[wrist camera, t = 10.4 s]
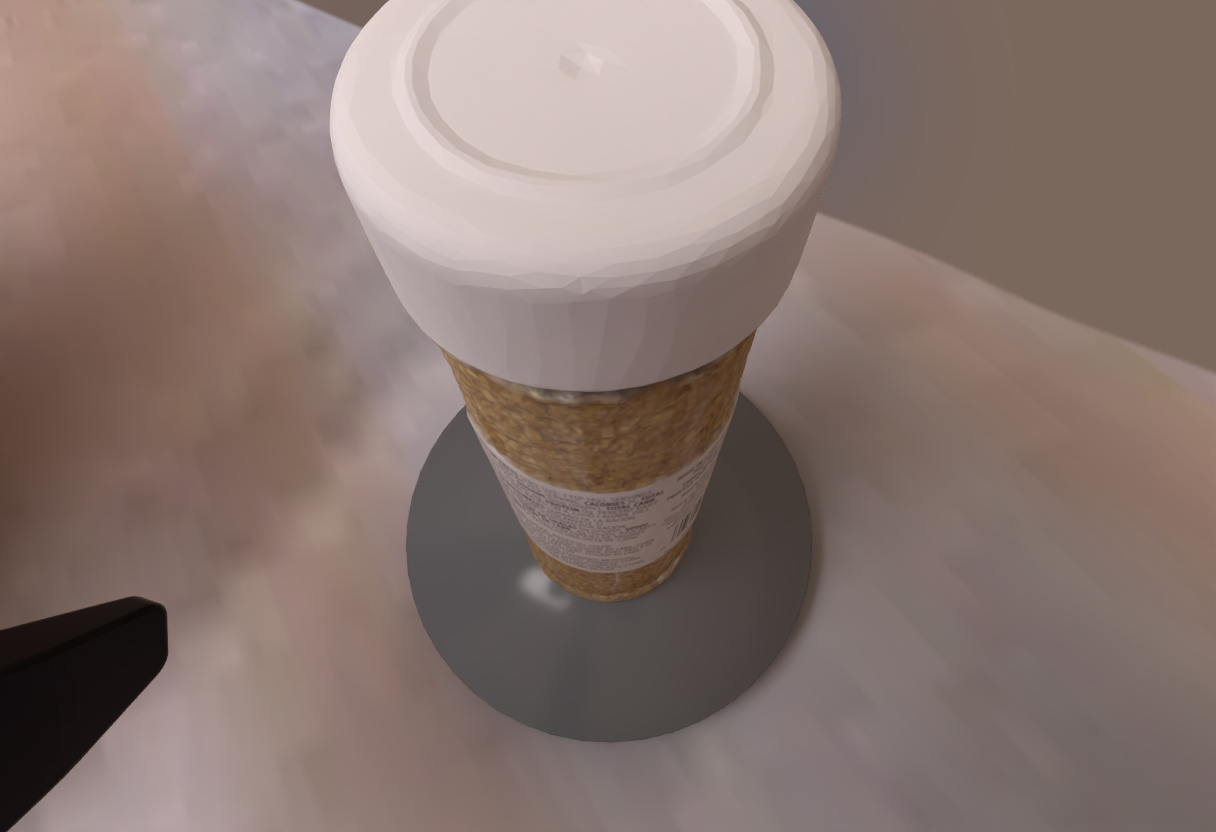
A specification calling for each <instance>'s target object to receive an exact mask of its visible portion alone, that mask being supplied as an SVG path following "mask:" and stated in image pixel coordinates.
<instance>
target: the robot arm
mask: <svg viewBox="0 0 1216 832" xmlns="http://www.w3.org/2000/svg"><path fill="white" fill-rule="evenodd" d="M167 657H168V625H167V611H166V609H165V607H164V606H163V605H162V604H160V603H157V602H154V601H151V600H148V599H145V598H142V597H137V596H131V597H127V598H123V599H119V600H115V601H111V602H107V603H103V604H100V605H96V606H92V607H88V608H84V609H80V610H76V611H72V612H69V613H65V614H61V615H57V616H53V617H49V618H45V619H42V620H38V621H34V622H30V623H26V624H22V625H18V626H15V627H11V628H7V629H3V630H0V832H7V831H8V830H10V829H11V828H12V827H13V826H14V825H15V824H16V823H17V822H18V821H19V820H20V819H21V818H22V817H23V816H24V815H25V814H26V813H27V812H29V811H30V810H31V809H32V808H33V807H34V806H35V805H36V804H37V803H38V802H39V801H40V800H41V799H42V798H43V797H44V796H45V795H46V794H47V793H48V792H50V791H51V790H52V789H53V788H54V787H55V786H56V785H57V784H58V783H59V782H60V781H61V780H62V779H63V778H64V777H65V776H66V775H67V774H68V772H69V771H70V770H71V769H72V768H73V767H74V766H75V765H76V764H77V763H78V762H79V761H80V760H81V759H82V758H83V757H84V755H85V754H86V753H87V752H88V751H89V750H90V749H91V748H92V747H93V745H94V744H95V743H96V742H97V741H98V740H99V739H100V738H101V737H102V736H103V734H104V733H105V732H106V731H107V730H108V729H109V728H110V727H111V726H112V724H113V723H114V722H115V721H116V720H117V719H118V718H119V717H120V716H121V715H122V713H123V712H124V711H125V710H126V709H127V708H128V707H129V706H130V705H131V703H132V702H133V701H134V700H135V699H136V698H137V697H138V696H139V695H140V694H141V692H142V691H143V690H144V689H145V688H146V687H147V686H148V685H149V684H150V682H151V681H152V680H153V679H154V678H155V677H156V676H157V675H158V673H159V672H160V671H161V669H162V668H163V666H164V664H165V662H166V660H167Z"/></svg>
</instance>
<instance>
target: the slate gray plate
mask: <svg viewBox="0 0 1216 832" xmlns="http://www.w3.org/2000/svg"><path fill="white" fill-rule="evenodd" d="M406 551H407V564H408V575H409V579H410V584H411V588H412V593H413V598H414V601H415V604H416V606H417V609H418V612H419V615H420V617H421V620H422V623H423V625H424V627H425V629H426V631H427V633H428V635H429V636H430V638H431V640H432V642H433V644H434V646H435V647H436V649H437V651H438V652H439V653H440V655H441V656H442V657H443V659H444V660H445V661H446V663H447V664H448V665H449V667H450V668H451V670H452V671H453V672H454V673H455V674H456V675H457V676H458V677H459V678H460V679H461V680H462V681H463V682H464V683H465V684H466V685H467V686H468V687H469V688H470V689H471V690H472V691H473V692H474V693H475V694H476V695H478V696H479V697H480V698H482V699H483V700H484V701H486V702H487V703H488V704H490V705H491V706H492V707H494V708H495V709H496V710H498V711H500V712H502V713H503V714H505V715H507V716H509V717H511V718H513V719H515V720H516V721H518V722H520V723H522V724H524V725H527V726H529V727H532V728H535V729H538V730H540V731H543V732H546V733H549V734H551V735H556V736H561V737H566V738H571V739H576V740H580V741H595V742H622V741H633V740H643V739H647V738H651V737H655V736H659V735H664V734H668V733H672V732H674V731H677V730H679V729H682V728H684V727H687V726H689V725H692V724H694V723H697V722H699V721H701V720H703V719H704V718H706V717H708V716H710V715H711V714H713V713H715V712H716V711H718V710H720V709H721V708H723V707H725V706H726V705H728V704H729V703H730V702H731V701H733V700H734V699H735V698H736V697H738V696H739V695H740V694H741V693H743V692H744V691H745V690H746V689H748V688H749V687H750V686H751V685H752V684H753V682H754V681H755V680H756V679H757V678H758V677H759V676H760V675H761V674H762V673H763V672H764V671H765V670H766V668H767V667H768V666H769V665H770V664H771V662H772V661H773V659H774V658H775V656H776V655H777V653H778V652H779V650H780V649H781V648H782V646H783V645H784V643H785V642H786V640H787V637H788V635H789V633H790V631H791V629H792V627H793V625H794V623H795V621H796V619H797V617H798V614H799V611H800V608H801V605H802V602H803V599H804V596H805V593H806V589H807V584H808V578H809V573H810V567H811V551H812V533H811V522H810V512H809V508H808V503H807V499H806V495H805V490H804V487H803V484H802V481H801V479H800V476H799V473H798V471H797V468H796V465H795V463H794V461H793V459H792V457H791V455H790V454H789V452H788V450H787V448H786V446H785V444H784V442H783V441H782V439H781V438H780V437H779V435H778V434H777V432H776V431H775V429H774V428H773V427H772V425H771V424H770V422H769V421H768V420H767V419H766V418H765V417H764V416H763V415H762V413H761V412H760V411H759V410H758V409H757V408H756V407H755V406H754V405H753V404H752V403H751V402H750V401H749V400H748V399H747V398H745V397H744V396H743V395H742V394H741V393H740V392H739V396H738V400H737V403H736V406H735V409H734V412H733V415H732V418H731V421H730V424H729V427H728V429H727V432H726V435H725V438H724V440H723V443H722V446H721V449H720V452H719V454H718V457H717V460H716V463H715V466H714V469H713V472H712V475H711V477H710V480H709V483H708V486H707V489H706V491H705V494H704V498H703V500H702V503H701V506H700V509H699V511H698V513H697V516H696V518H695V520H694V522H693V523H692V533H691V538H690V542H689V545H688V547H687V549H686V551H685V553H684V555H683V558H682V560H681V561H680V563H679V564H678V565H677V566H676V568H675V570H674V571H673V573H672V574H671V575H670V577H668V578H667V579H666V580H665V581H664V582H663V583H661V584H660V585H659V586H657V587H656V588H654V589H652V590H651V591H649V592H647V593H646V594H643V595H641V596H638V597H636V598H632V599H629V600H624V601H616V602H611V603H606V602H598V601H593V600H587V599H583V598H581V597H579V596H576V595H574V594H572V593H569V592H567V591H566V590H564V589H563V588H562V587H561V586H560V585H558V584H557V583H555V582H553V581H552V580H550V579H549V578H548V577H547V576H546V574H545V573H544V572H543V570H542V568H541V566H540V565H539V564H538V562H537V560H536V559H535V557H534V556H533V553H532V551H531V549H530V546H529V542H528V539H527V536H526V531H525V530H524V529H523V527H522V526H521V524H520V522H519V520H518V518H517V516H516V514H515V512H514V510H513V508H512V506H511V504H510V502H509V500H508V498H507V496H506V494H505V492H504V490H503V488H502V486H501V484H500V482H499V480H498V478H497V475H496V473H495V471H494V469H493V467H492V465H491V463H490V461H489V459H488V457H487V455H486V453H485V451H484V449H483V447H482V445H481V443H480V441H479V439H478V437H477V435H476V433H475V431H474V429H473V427H472V424H471V422H470V420H469V418H468V415H467V410H466V406H465V407H463V408H462V409H461V410H460V411H459V412H458V414H457V415H456V416H455V417H454V419H453V420H452V421H451V422H450V423H449V425H448V426H447V427H446V428H445V429H444V431H443V432H442V434H441V435H440V437H439V439H438V440H437V442H436V443H435V445H434V446H433V448H432V450H431V451H430V453H429V456H428V458H427V460H426V462H425V464H424V466H423V468H422V470H421V472H420V475H419V478H418V481H417V484H416V487H415V490H414V493H413V496H412V501H411V507H410V512H409V517H408V524H407V542H406Z"/></svg>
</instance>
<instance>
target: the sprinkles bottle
mask: <svg viewBox="0 0 1216 832" xmlns="http://www.w3.org/2000/svg"><path fill="white" fill-rule="evenodd" d="M840 126H841V90H840V84H839V80H838V76H837V73H836V69H835V66H834V63H833V60H832V57H831V55H830V53H829V50H828V48H827V46H826V44H825V42H824V39H823V38H822V36H821V34H820V33H819V31H818V30H817V28H816V27H815V26H814V24H813V23H812V21H811V20H810V19H809V18H808V16H807V15H806V14H805V13H804V12H803V10H802V9H801V8H800V7H799V6H798V5H797V4H796V3H795V2H794V0H389V1H388V2H387V3H386V4H384V6H383V7H382V8H381V9H380V10H379V11H378V12H377V13H376V14H375V15H374V16H373V17H372V19H371V20H370V21H369V22H368V23H367V24H366V25H365V26H364V27H363V29H362V30H361V32H360V33H359V34H358V36H357V37H356V39H355V40H354V41H353V43H352V44H351V46H350V48H349V50H348V51H347V53H346V55H345V58H344V60H343V63H342V65H341V68H340V70H339V72H338V75H337V78H336V81H335V84H334V89H333V94H332V99H331V108H330V136H331V143H332V148H333V154H334V159H335V164H336V166H337V169H338V172H339V175H340V177H341V180H342V183H343V185H344V188H345V190H346V193H347V195H348V197H349V199H350V201H351V203H352V205H353V207H354V210H355V212H356V214H357V216H358V218H359V220H360V222H361V224H362V227H363V229H364V231H365V233H366V235H367V237H368V239H369V241H370V243H371V245H372V247H373V249H374V251H375V253H376V255H377V257H378V259H379V261H380V263H381V265H382V267H383V269H384V271H385V273H386V275H387V277H388V279H389V281H390V283H391V285H392V287H393V289H394V291H395V293H396V295H397V296H398V298H399V300H400V301H401V303H402V305H403V306H404V308H405V310H406V311H407V312H408V313H409V315H410V316H411V317H412V318H413V320H414V321H415V322H416V323H417V324H418V326H419V327H420V328H421V329H422V331H423V332H424V333H425V334H426V335H428V336H429V337H430V338H431V339H432V340H433V341H434V342H435V343H436V344H437V345H438V346H439V347H440V348H441V349H442V352H443V354H444V357H445V358H446V360H447V361H448V363H449V364H450V366H451V368H452V371H453V374H454V377H455V379H456V381H457V383H458V384H459V387H460V390H461V392H462V394H463V397H464V400H465V402H466V410H467V415H468V418H469V420H470V422H471V424H472V427H473V429H474V431H475V433H476V435H477V437H478V439H479V441H480V443H481V445H482V447H483V449H484V451H485V453H486V455H487V457H488V459H489V461H490V463H491V465H492V467H493V469H494V471H495V473H496V475H497V478H498V480H499V482H500V484H501V486H502V488H503V490H504V492H505V494H506V496H507V498H508V500H509V502H510V504H511V506H512V508H513V510H514V512H515V514H516V516H517V518H518V520H519V522H520V524H521V526H522V527H523V529H524V530H525V531H526V536H527V539H528V542H529V546H530V549H531V551H532V553H533V556H534V557H535V559H536V560H537V562H538V564H539V565H540V566H541V568H542V570H543V572H544V573H545V574H546V576H547V577H548V578H549V579H550V580H552V581H553V582H555V583H557V584H558V585H560V586H561V587H562V588H563V589H564V590H566V591H567V592H569V593H572V594H574V595H576V596H579V597H581V598H583V599H587V600H593V601H598V602H606V603H611V602H616V601H624V600H629V599H632V598H636V597H638V596H641V595H643V594H646V593H647V592H649V591H651V590H652V589H654V588H656V587H657V586H659V585H660V584H661V583H663V582H664V581H665V580H666V579H667V578H668V577H670V575H671V574H672V573H673V571H674V570H675V568H676V566H677V565H678V564H679V563H680V561H681V560H682V558H683V555H684V553H685V551H686V549H687V547H688V545H689V542H690V538H691V533H692V523H693V522H694V520H695V518H696V516H697V513H698V511H699V509H700V506H701V503H702V500H703V498H704V494H705V491H706V489H707V486H708V483H709V480H710V477H711V475H712V472H713V469H714V466H715V463H716V460H717V457H718V454H719V452H720V449H721V446H722V443H723V440H724V438H725V435H726V432H727V429H728V427H729V424H730V421H731V418H732V415H733V412H734V409H735V406H736V403H737V400H738V396H739V390H740V384H741V377H742V374H743V371H744V368H745V364H746V360H747V356H748V353H749V351H750V348H751V345H752V342H753V339H754V336H755V332H756V330H757V328H758V327H759V326H760V325H761V324H762V323H763V322H764V320H765V319H766V318H767V317H768V316H769V314H770V313H771V312H772V311H773V310H774V308H775V307H776V306H777V305H778V303H779V301H780V300H781V298H782V296H783V294H784V293H785V291H786V289H787V288H788V286H789V284H790V282H791V280H792V277H793V275H794V273H795V270H796V268H797V265H798V263H799V260H800V257H801V255H802V252H803V249H804V247H805V244H806V241H807V238H808V236H809V233H810V230H811V227H812V224H813V221H814V218H815V216H816V213H817V210H818V207H819V204H820V201H821V198H822V195H823V191H824V188H825V185H826V182H827V179H828V175H829V172H830V169H831V166H832V163H833V160H834V157H835V153H836V149H837V143H838V138H839V133H840Z"/></svg>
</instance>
